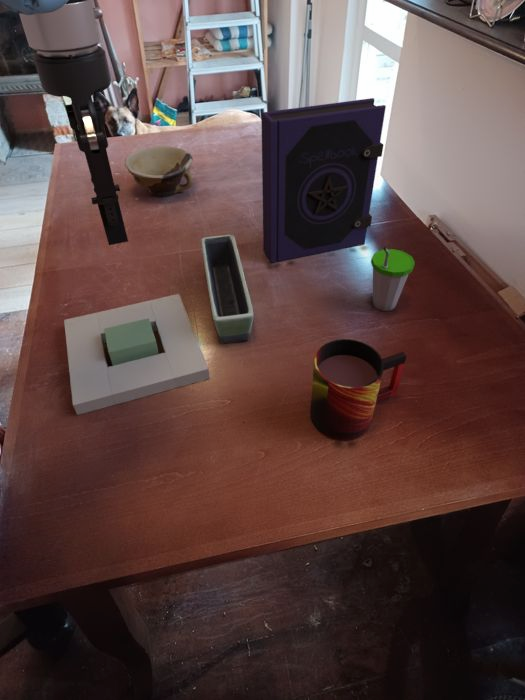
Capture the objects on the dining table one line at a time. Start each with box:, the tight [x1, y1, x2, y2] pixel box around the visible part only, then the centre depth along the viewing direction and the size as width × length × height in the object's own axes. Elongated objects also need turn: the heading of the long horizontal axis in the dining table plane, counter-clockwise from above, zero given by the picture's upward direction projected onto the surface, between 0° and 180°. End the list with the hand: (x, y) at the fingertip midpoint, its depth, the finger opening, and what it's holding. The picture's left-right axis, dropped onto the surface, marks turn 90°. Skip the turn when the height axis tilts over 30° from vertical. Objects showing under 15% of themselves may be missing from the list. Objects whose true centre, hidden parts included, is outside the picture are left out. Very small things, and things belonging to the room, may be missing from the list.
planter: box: [200, 234, 254, 344], centre depth 94 cm, size 28×7×7 cm, turn 10°
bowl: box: [124, 145, 194, 198], centre depth 128 cm, size 18×18×10 cm
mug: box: [309, 338, 407, 442], centre depth 72 cm, size 10×14×12 cm
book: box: [260, 97, 387, 264], centre depth 100 cm, size 24×6×30 cm, turn 109°
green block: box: [104, 318, 160, 366], centre depth 85 cm, size 8×6×4 cm
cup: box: [370, 246, 416, 312], centre depth 90 cm, size 8×8×15 cm
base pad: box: [63, 293, 211, 416], centre depth 85 cm, size 22×22×2 cm
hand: (117, 240), depth 68 cm, fingers closed
